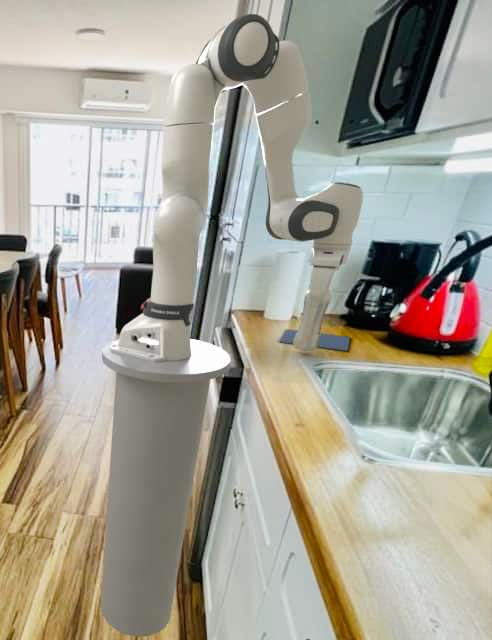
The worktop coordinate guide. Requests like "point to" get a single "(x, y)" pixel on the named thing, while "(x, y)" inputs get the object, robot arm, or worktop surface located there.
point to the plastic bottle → (311, 324)
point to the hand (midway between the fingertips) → (314, 310)
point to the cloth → (321, 341)
